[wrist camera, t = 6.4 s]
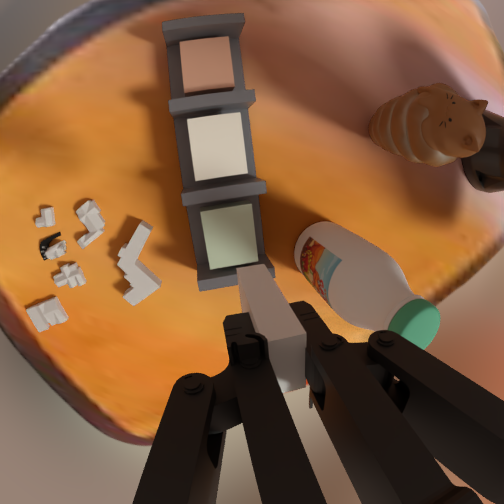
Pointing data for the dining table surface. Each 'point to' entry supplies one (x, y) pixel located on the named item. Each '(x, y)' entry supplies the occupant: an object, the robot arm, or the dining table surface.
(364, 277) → the milk bottle
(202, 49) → the brown flat block
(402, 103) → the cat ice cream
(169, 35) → the keypad
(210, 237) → the sage key
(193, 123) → the cream key
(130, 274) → the white puzzle pieces
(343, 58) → the dining table surface
